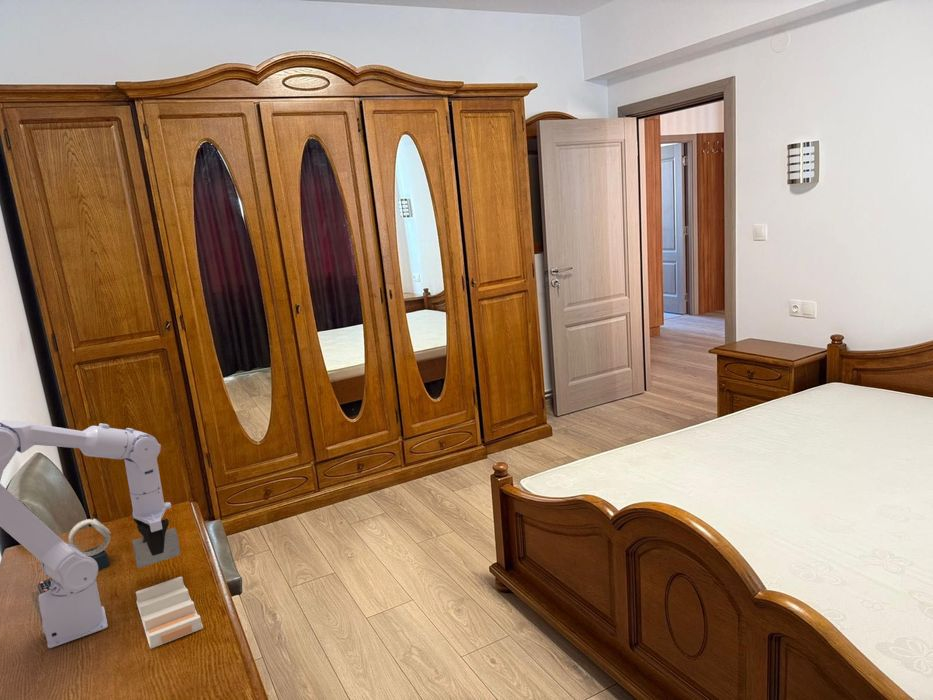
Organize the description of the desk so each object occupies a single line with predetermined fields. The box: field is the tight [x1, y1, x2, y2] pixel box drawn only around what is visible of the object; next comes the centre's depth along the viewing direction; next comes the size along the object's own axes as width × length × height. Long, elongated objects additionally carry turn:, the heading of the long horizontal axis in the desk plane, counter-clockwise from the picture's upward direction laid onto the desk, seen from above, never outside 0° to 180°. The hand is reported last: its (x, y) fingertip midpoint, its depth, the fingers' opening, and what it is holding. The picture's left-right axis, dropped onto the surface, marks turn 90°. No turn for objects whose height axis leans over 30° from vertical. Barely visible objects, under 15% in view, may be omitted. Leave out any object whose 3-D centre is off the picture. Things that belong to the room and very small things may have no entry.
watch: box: [67, 518, 112, 572], centre depth 138 cm, size 6×8×11 cm
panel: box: [131, 527, 182, 569], centre depth 128 cm, size 8×3×5 cm, turn 126°
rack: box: [135, 575, 204, 650], centre depth 119 cm, size 9×18×2 cm, turn 35°
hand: (156, 550), depth 128 cm, fingers closed on panel, 3 cm apart
